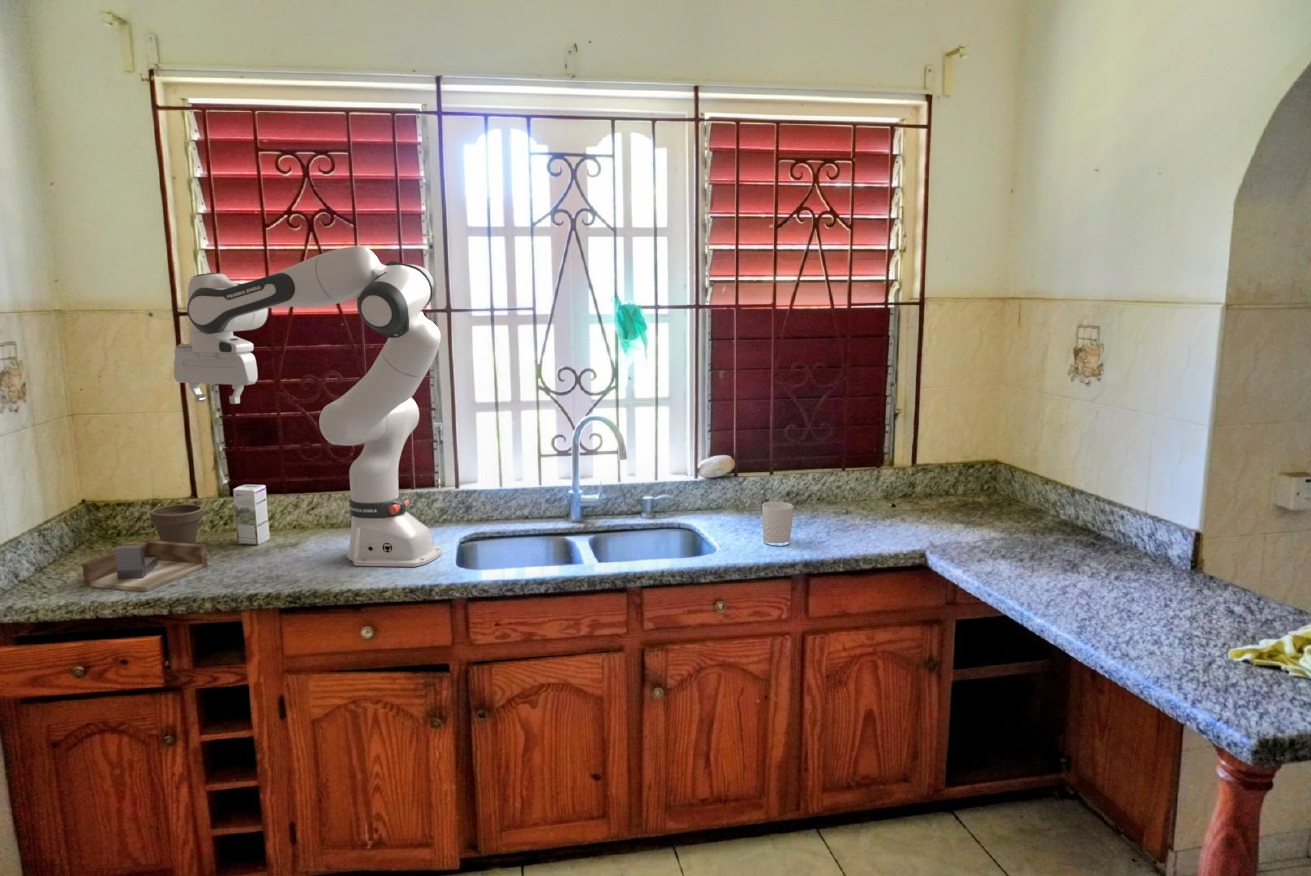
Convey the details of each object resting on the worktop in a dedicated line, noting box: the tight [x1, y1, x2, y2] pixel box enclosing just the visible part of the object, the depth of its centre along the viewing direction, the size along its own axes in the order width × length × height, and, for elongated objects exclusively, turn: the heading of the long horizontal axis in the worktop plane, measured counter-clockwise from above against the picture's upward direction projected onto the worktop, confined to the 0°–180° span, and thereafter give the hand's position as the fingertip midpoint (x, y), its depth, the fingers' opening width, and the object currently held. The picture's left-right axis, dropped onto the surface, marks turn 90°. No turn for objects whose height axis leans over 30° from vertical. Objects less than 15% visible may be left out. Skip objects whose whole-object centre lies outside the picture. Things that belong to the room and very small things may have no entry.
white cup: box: [761, 501, 794, 543], centre depth 222 cm, size 8×8×10 cm
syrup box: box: [232, 484, 270, 546], centre depth 220 cm, size 6×6×14 cm
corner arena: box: [81, 539, 208, 593], centre depth 195 cm, size 16×18×5 cm
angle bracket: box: [114, 544, 158, 580], centre depth 194 cm, size 9×5×7 cm, turn 11°
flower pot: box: [149, 503, 204, 544], centre depth 214 cm, size 12×11×10 cm
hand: (217, 402), depth 205 cm, fingers open, 8 cm apart
